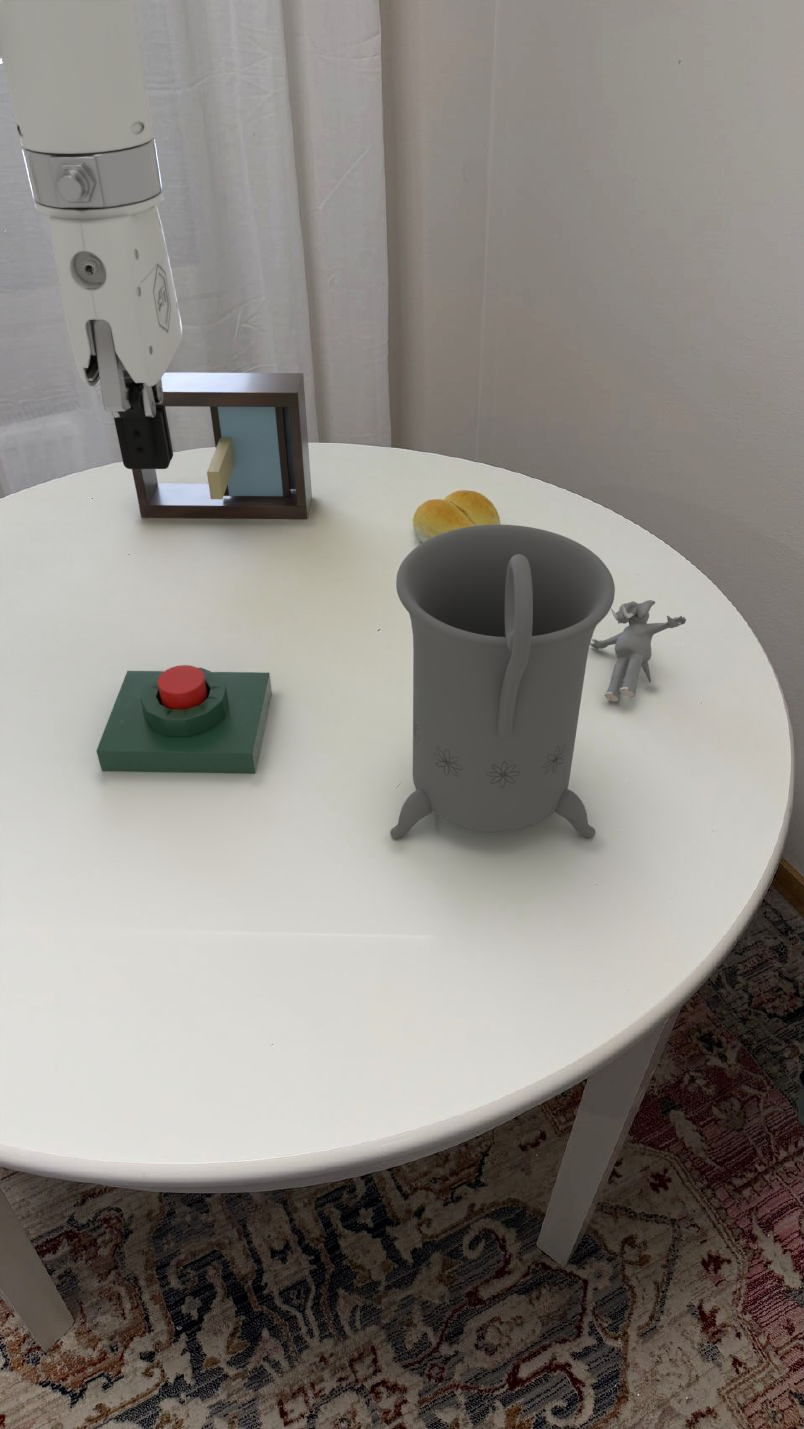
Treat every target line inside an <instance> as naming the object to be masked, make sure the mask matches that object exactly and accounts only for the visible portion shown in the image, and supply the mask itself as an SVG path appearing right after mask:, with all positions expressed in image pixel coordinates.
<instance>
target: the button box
mask: <svg viewBox="0 0 804 1429" xmlns="http://www.w3.org/2000/svg"><path fill="white" fill-rule="evenodd" d="M198 668H199V669H200V670H201V671H202V672H203V674H204V678H205V684H206V690H207V696H206V699H205V700H204V701H203V702H202V703H201V704H200V705H198V706H195V707H192V708H189V709H186V710H172V709H169V708H167V707H166V706H164V705H163V703H162V701H161V697H160V692H159V688H158V678H159V676H160V675H161V674H162V673H163V672H164V671H165V670H127V671H126V673H125V676H124V678H123V681H122V683H121V686H120V688H119V691H118V694H117V697H116V698H115V702H114V704H113V706H112V709H111V712H110V714H109V717H108V720H107V722H106V725H105V727H104V730H103V732H102V735H101V738H100V741H99V742H98V745H97V748H96V752H95V753H96V755H97V759H98V762H99V765H100V769H101V772H119V773H120V772H122V773H124V772H127V773H128V772H129V773H182V774H183V773H185V774H186V773H187V774H189V773H190V774H191V773H192V774H238V775H239V774H241V775H242V774H245V775H247V774H248V775H249V774H250V775H254V774H256V773H257V772H256V771H257V768H258V762H259V757H260V753H261V748H262V742H263V738H264V733H265V729H266V728H265V727H266V724H267V719H268V713H269V708H270V703H271V698H272V693H273V691H272V682H271V674H270V672H257V671H256V672H251V671H250V672H248V671H247V672H246V671H245V672H244V671H211V670H209V669H206V668H203V667H198Z"/></svg>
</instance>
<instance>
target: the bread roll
mask: <svg viewBox="0 0 804 1429" xmlns="http://www.w3.org/2000/svg"><path fill="white" fill-rule="evenodd" d="M479 525H502V524H501V518H500V516H499V512H498V509H497V508H496V507H495V505H494V503H492V501H491V500H490V499H489V498H488V497H487V496H485V495H483V494H481V493H480V492H478V491H474V490H468V489H464V490H463V489H462V490H456V491H453V492H451V493H450V494H448V495H447V496H445V498H444V499H440V498H439V499H438V498H437V499H436V498H435V499H434V498H433V499H429V500H427V501H423V503H422V504H420V505H419V506H418V507H417V509H416V510H415V512H414V514H413V518H412V529H413V532H414V535H415V537H416V538H417V540H419V541H420V542H421V543H423V542H425V541H426V540H428V539H430V538H432V537H435V536H437V535H439V534H442V533H445V532H448V531H452V530H455V529H460V528H465V527H471V526H479Z"/></svg>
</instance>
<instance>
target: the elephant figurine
mask: <svg viewBox="0 0 804 1429" xmlns="http://www.w3.org/2000/svg"><path fill="white" fill-rule="evenodd" d="M655 604H656V601H655V600H653V599H652V600H651V599H649V600H644V601H643V602H639V603H638V602H636V601H635V600H633V601H629V602H627V603H626V602H625V603H622V604H621V605H620V606H619V609H618V610H617V611H616V612H615V610H614V609H613V608H611V609H610V612H611V614H612V616H613V618H614V619H615V621H617V624H624V625H626V624H628V625H627V626H626V627H624V629H623V631H621V632H619V633H618V634H616V635H613V636H610V637H609V638H606V639H604V640H598V639H595V638H592V639H591V643H590V647H592V648H593V649H596V650H600V649H601V650H602V649H606V648H607V647H609V646H612V645H614V652H615V656H616V658H617V661H616V663H615V664H614V666H613V671H612V673H611V674H612V675H611V678H610V681H609V683H608V684H609V685H608V687H607V689H606V692H605V693H604V694H603V695H604V698H605V699H606V700H608V701H610V702H613V703H619V702H620V698H621V694H622V695H623V696H626V697H628V698H636V693H637V686H638V677H639V674H640V672H641V668H642V670H643V673H644V674H645V676H646V678H647V681H648V682H649V684H651V683H652V676H651V672H650V666H649V661H650V660H651V657H652V640H653V636H654V635H656V634H658V633H660V632H663V631H664V630H667V629H674V628H678V627H679V626H682V625H684V624H686V622H687V618H685V616H683V615H679V616H678V617H677V616H675V617H673V618H672V617H670V616H669V615H666V619H667V621H666V622H652V623H651V622H650V623H648V621H649V618H650V610H651V609H652V607H653V606H654V605H655Z"/></svg>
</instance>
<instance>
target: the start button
mask: <svg viewBox="0 0 804 1429" xmlns="http://www.w3.org/2000/svg"><path fill="white" fill-rule="evenodd" d="M199 668H200V667H197V666H194V665H189V664H187V665H186V664H181V665H176V666H172V667H169V668H167V669H166V670H163V671H164V672H163V673H162V674H161V675H160V676H159V678H158V688H159V692H160V697H161V701H162V703H163V705H164V706H166V707H167V708H169V709H172V710H186V709H189V708H192V707H195V706H198V705H200V704H201V703H202V702H203V701H204V700H205V699H206V696H207V690H206V684H205V678H204V674H203V672H202V671H201V670H200V669H199Z"/></svg>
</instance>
